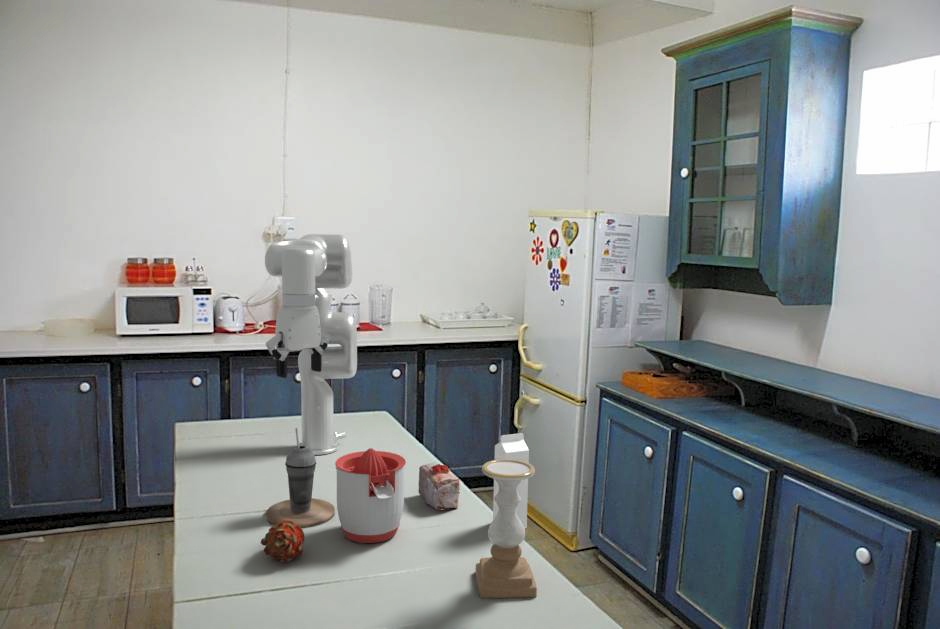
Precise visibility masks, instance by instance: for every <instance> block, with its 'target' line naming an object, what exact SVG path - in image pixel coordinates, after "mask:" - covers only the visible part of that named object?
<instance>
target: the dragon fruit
mask: <svg viewBox="0 0 940 629" xmlns="http://www.w3.org/2000/svg"><path fill="white" fill-rule="evenodd" d="M304 543H305V533H304V530H303V528H301V527H300V526H296V525H295V524H294V523H293V522H292V521H290V520H283V521H282V523H279V524H274V525H273V524H272V526H271V527H270V528H268V532H267V533H265V536H264V537H263V538H261V539H260V545H262V546H263V547H264V548H263V552H264V554H265V556H269V557H271V558H272V559H274V560H277V561H278V562H279V563H280V562H281V563H289V562H290V561H291V560H293V558H297V557H298V556H299V557H300V556H301V555H302V554H303V551H304V547H303V545H304Z"/></svg>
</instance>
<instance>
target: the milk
mask: <svg viewBox="0 0 940 629" xmlns="http://www.w3.org/2000/svg"><path fill="white" fill-rule="evenodd" d="M524 436H525V435H524V433H522V432H520V433H513V434H503V435H500V438H499V439H500V441H499V442H498V443H496V444H495V445H494V460H498V459H514V460H520V461H524V462H527V463H529V464H530V462H529V460H530V450H529V447H528V446H527V443H526V442H525V440H524V439H525V438H524ZM528 487H529V478H528V479H524V480H521V482H520V483H519V484H518V486H517V493H518V495H519V496H520V498H521V502H520V503H518V506H517V508H516V513H517V516H518V518H519V520H520V521H521V523H522V525H523V527H524V529H527V526H528V525H527V524H528V499H529V498H528V495H529V494H528V492H529V491H528V489H529V488H528ZM498 491H499V485H498V483H497V482H496V480H495V479H494V478H493V505H492V507H493V508H492V510H493V511H492V521H493V520H494V519H495V517H496V515H497V514H498V511H499V507H498V505H497V502H495V500H494V497H495V496H496V495H497V493H498Z"/></svg>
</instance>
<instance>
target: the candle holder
mask: <svg viewBox="0 0 940 629" xmlns="http://www.w3.org/2000/svg"><path fill="white" fill-rule="evenodd" d="M481 470H482V473H483V474H484V475H485V476H487V477H488V478H491V479H493V480H494V479H495V480H496V482H497V483H498V485H499V491H498V493H497V495H496V496H495V497H494V496H493V499H494V500H495V502H497V505H498V507H499V511H498V514H497V515H496V517H495V519H494V520H493V519H492V522H491V523H490V525H489V526H488V530H487V536H488V538H489V541H491V543H492V546H490V554H491V557H481V558H480V559H479V563H478V562H477V563H476V564H475V571H474V572H475V579H476V584H477V591H478V594H479V598H481V599H515V598H516V599H519V598H521V599H526V598H536V597H537V594H538V593H537V592H538V590H537V589H538V587H537V584H536V580H535V578H534V575H533V572H532V568H531V567H530V563H528V561H527V559H526V557H525V556H524V557H523V556H522V553H523V550H522V548H521V546H520V544H522V543H523V542H524V540H525V538H526V530H525V529H526V528H524V527H523V525H522V523H521V521H520V520H519V518H518V516H517V513H516V508H517V506H518V503H520V502H521V498H520V496H519V495H518V493H517V486H518V484H519V483H520V482H521V480H524V479H528V480H529V478H531V477H533V476H534V474H535V472H536V470H535V467H534V466H533V464H531V463H530V462H529V463H527V462H524V461H520V460H514V459H498V460H495V459H493V460H490V461H487V462H484V464H483V465H482V467H481Z"/></svg>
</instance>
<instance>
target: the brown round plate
mask: <svg viewBox="0 0 940 629" xmlns="http://www.w3.org/2000/svg"><path fill="white" fill-rule="evenodd" d="M335 513H336V512H335V505H334V504H333V503H331V502H330V501H327V500H325V499H320V498H313V497H312V499H311V506H310V511H308V512H306V513H294V512H292V511H291V505H290V499H286V500H282V501H279V502H276V503H274V504H272V505H271V506H269V507H268V508H267V510H266V512H265V519H266V521H267V522H268V523H269V524H271V525H272V526H273V525H274V524H279V523H282V521H283V520H290V521H292V522H293V523H294V524H295V525H296V526H300V527H301V528H302V529H305V528H312V527H315V526H319V525H322V524H325V523H327V522H329V521H330V520H332V519H333V517H334V516H335Z"/></svg>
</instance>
